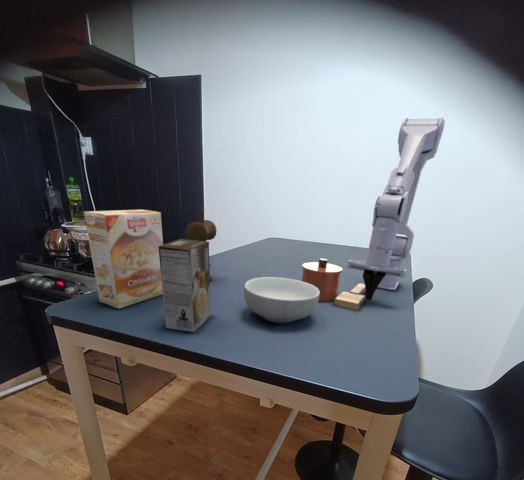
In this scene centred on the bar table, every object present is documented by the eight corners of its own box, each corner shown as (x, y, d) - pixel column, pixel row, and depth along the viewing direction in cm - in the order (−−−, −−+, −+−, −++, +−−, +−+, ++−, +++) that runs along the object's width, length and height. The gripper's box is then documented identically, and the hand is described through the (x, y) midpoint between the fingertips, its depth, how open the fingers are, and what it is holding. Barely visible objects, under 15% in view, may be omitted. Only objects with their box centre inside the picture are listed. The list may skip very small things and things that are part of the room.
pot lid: (309, 264, 92) (311, 253, 91) (346, 270, 88) (348, 259, 86) (295, 271, 83) (296, 259, 82) (335, 278, 79) (337, 266, 78)
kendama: (187, 283, 91) (184, 207, 81) (199, 274, 99) (197, 205, 90) (207, 285, 90) (206, 209, 81) (217, 277, 98) (218, 207, 89)
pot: (307, 287, 95) (311, 262, 91) (340, 294, 91) (345, 268, 87) (294, 296, 87) (297, 268, 83) (329, 304, 83) (334, 275, 79)
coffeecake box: (119, 309, 70) (104, 214, 61) (98, 302, 73) (81, 210, 64) (168, 293, 82) (162, 211, 73) (148, 287, 85) (140, 208, 76)
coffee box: (183, 312, 71) (179, 238, 64) (210, 316, 70) (210, 241, 63) (164, 328, 63) (157, 245, 56) (194, 333, 62) (191, 249, 55)
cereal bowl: (305, 338, 64) (310, 304, 60) (230, 322, 68) (231, 290, 65) (321, 311, 78) (326, 283, 75) (258, 299, 82) (260, 272, 79)
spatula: (351, 288, 98) (353, 281, 97) (371, 292, 95) (373, 285, 94) (333, 305, 83) (335, 297, 82) (356, 310, 80) (358, 302, 79)
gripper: (348, 245, 79) (338, 297, 86) (409, 254, 73) (394, 309, 80) (355, 241, 85) (345, 290, 91) (412, 250, 79) (398, 301, 85)
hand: (368, 299), depth 86 cm, fingers closed
